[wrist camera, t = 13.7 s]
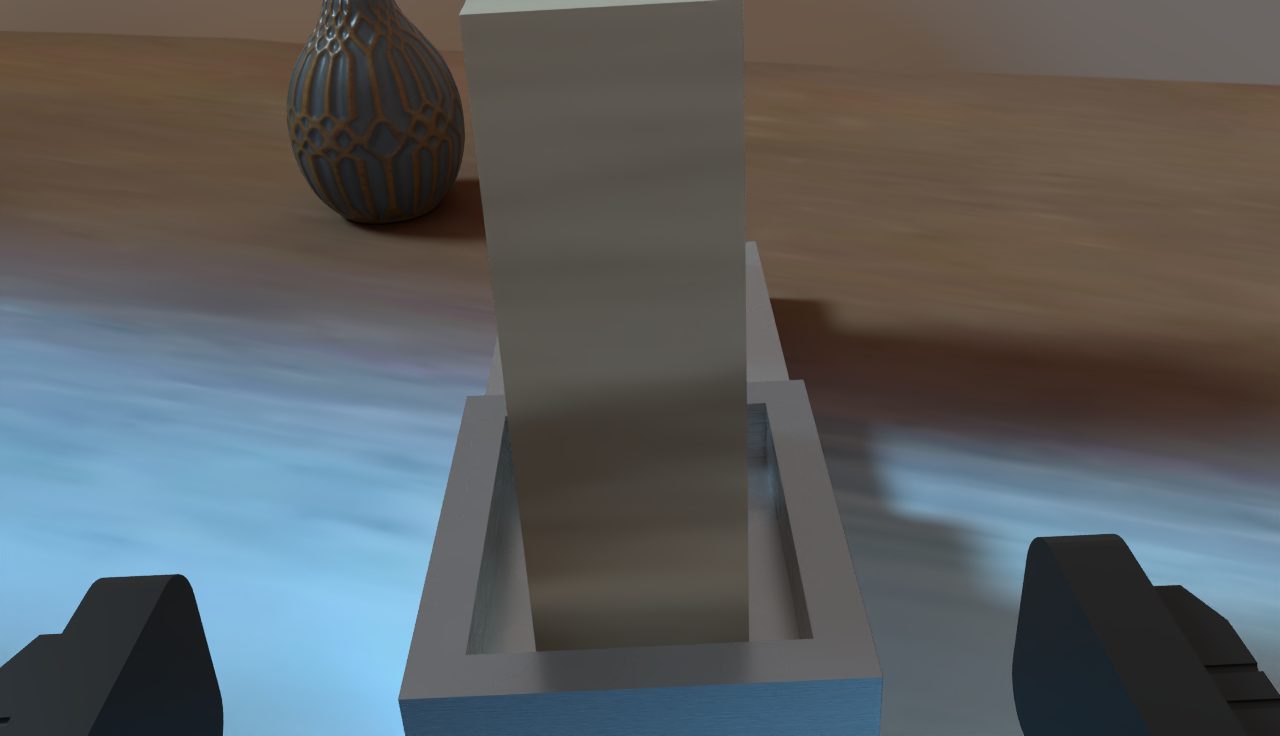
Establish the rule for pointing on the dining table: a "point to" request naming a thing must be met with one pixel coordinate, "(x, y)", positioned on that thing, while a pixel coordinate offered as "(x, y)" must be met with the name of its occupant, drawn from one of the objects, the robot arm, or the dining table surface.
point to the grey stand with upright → (656, 675)
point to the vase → (374, 114)
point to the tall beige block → (620, 307)
